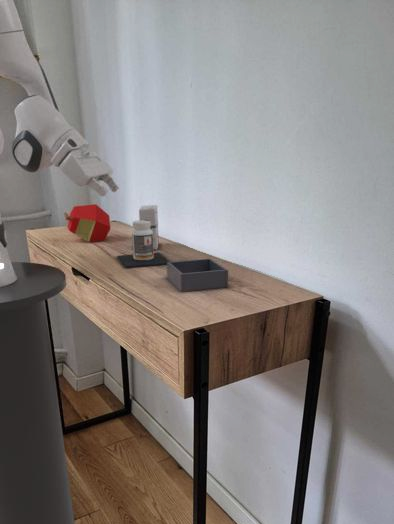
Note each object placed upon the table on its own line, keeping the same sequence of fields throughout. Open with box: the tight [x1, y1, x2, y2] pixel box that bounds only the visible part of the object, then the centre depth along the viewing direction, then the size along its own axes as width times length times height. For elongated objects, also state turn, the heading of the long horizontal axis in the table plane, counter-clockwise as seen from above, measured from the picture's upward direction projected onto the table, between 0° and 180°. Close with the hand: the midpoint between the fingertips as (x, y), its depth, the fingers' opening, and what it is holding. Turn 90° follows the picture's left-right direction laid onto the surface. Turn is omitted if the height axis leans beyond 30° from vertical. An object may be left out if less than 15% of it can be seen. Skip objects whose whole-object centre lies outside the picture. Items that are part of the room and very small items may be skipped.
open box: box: [166, 258, 229, 293], centre depth 113 cm, size 11×11×4 cm
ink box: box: [138, 204, 160, 250], centre depth 145 cm, size 8×5×12 cm, turn 0°
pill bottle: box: [131, 220, 155, 261], centre depth 130 cm, size 6×6×10 cm
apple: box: [63, 203, 111, 243], centre depth 154 cm, size 12×12×15 cm
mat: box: [116, 252, 170, 269], centre depth 132 cm, size 12×12×1 cm
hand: (111, 192), depth 126 cm, fingers open, 8 cm apart
